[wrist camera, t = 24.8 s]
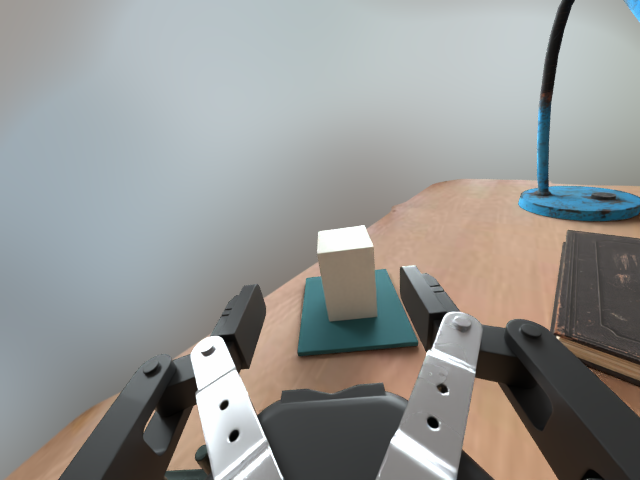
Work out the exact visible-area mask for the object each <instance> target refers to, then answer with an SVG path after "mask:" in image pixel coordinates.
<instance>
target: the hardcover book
mask: <svg viewBox="0 0 640 480" xmlns="http://www.w3.org/2000/svg"><path fill="white" fill-rule="evenodd" d="M550 332H551V333H552V334H553V335H554V336H555V337H556V338H557V339H558V340H559V341H561V342H562V343H563V344H564V345H565V346H566V347H567V348H568V349H569V350H570V351H571V352H572V353H573V354H574V355H575V356H576V357H577V358H578V359H579V360H580V361H581V362H582V363H583V364H584V365H586V366H589V367H591V368H594V369H597V370H599V371H602V372H604V373H607V374H610V375H612V376H615V377H617V378H620V379H622V380H625V381H628V382H630V383H633V384H635V385H638V386H640V239H639V238H631V237H622V236H614V235H606V234H598V233H589V232H581V231H573V230H568V231H567V236H566V242H563V247H562V254H561V261H560V268H559V275H558V282H557V288H556V295H555V302H554V309H553V316H552V322H551V329H550Z"/></svg>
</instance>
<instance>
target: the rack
mask: <svg viewBox="0 0 640 480" xmlns="http://www.w3.org/2000/svg"><path fill="white" fill-rule="evenodd" d="M195 460H196V461H197V463H198V464H199V465H200V466H201V468H202V469H195V470H175V471H166V472H165V475H164V477H163V480H205V479H206V477H207V476H208V475H209V474H210V473H211V471H212V469H211V465H210V460H209V456H208V451H207V446H206V445H203V446H201V447H200V448H199V449H198V450H197V452H196V454H195Z"/></svg>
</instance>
